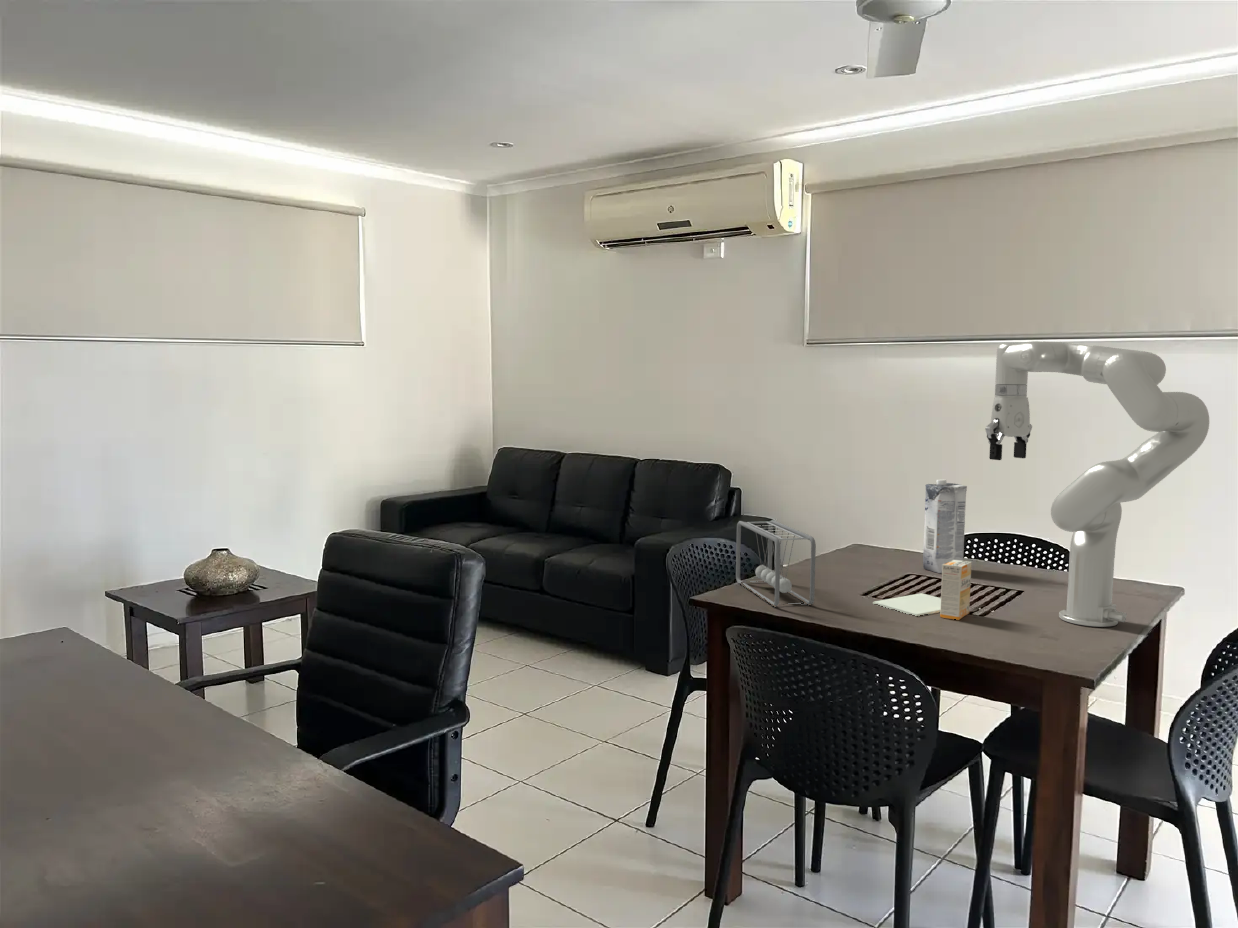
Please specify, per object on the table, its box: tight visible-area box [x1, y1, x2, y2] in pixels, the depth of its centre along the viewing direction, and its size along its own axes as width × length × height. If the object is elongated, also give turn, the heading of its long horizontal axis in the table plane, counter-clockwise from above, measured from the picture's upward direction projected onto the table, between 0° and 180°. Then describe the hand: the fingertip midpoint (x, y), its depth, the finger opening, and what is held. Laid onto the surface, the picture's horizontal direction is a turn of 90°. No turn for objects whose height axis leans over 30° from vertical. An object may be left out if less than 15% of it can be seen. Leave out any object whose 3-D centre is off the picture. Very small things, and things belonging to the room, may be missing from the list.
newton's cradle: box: [735, 519, 817, 607], centre depth 244 cm, size 30×10×18 cm, turn 12°
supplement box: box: [939, 560, 973, 621], centre depth 224 cm, size 8×5×13 cm, turn 143°
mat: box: [872, 592, 941, 617], centre depth 234 cm, size 14×18×1 cm
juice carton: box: [922, 479, 968, 574], centre depth 274 cm, size 9×10×27 cm
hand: (1007, 458), depth 237 cm, fingers open, 9 cm apart
